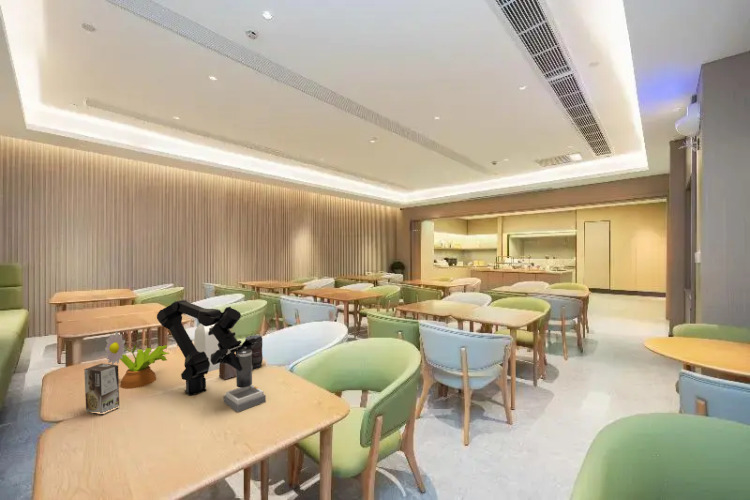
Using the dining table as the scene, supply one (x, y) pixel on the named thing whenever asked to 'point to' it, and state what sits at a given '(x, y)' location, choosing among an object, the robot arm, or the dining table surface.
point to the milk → (206, 343)
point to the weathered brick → (227, 371)
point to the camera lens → (256, 351)
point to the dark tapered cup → (244, 368)
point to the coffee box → (101, 387)
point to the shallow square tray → (244, 398)
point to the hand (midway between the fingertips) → (246, 367)
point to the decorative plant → (138, 370)
